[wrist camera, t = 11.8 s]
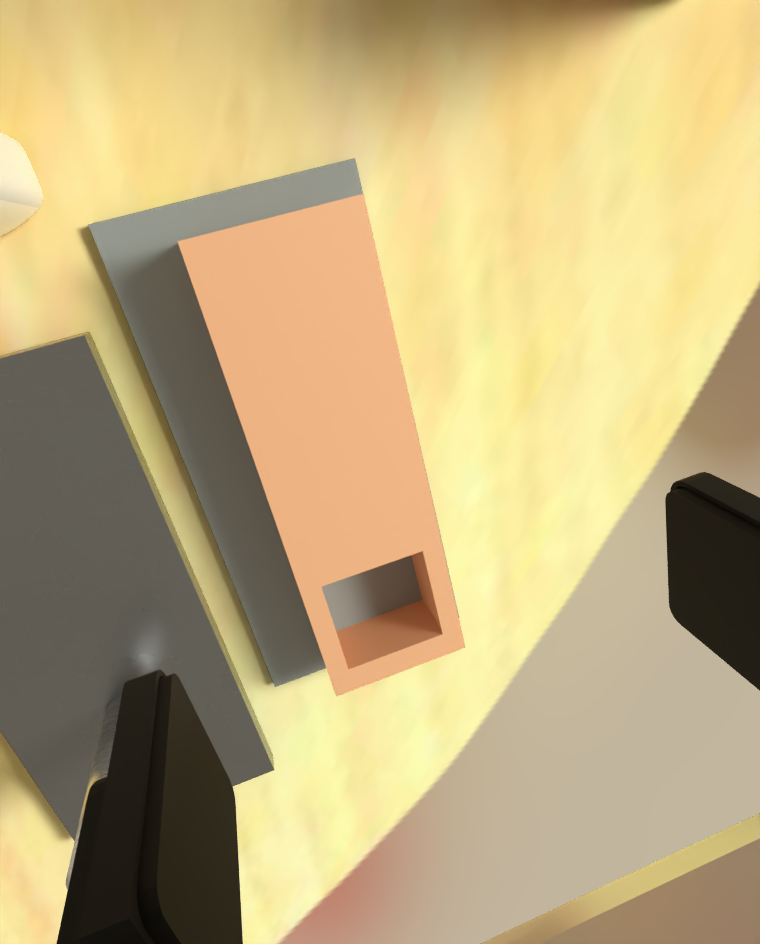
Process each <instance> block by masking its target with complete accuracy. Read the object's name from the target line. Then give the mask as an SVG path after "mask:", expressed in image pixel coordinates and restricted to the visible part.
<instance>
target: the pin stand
mask: <svg viewBox="0 0 760 944" xmlns="http://www.w3.org/2000/svg"><path fill="white" fill-rule="evenodd" d="M156 670H162V671H163V672H164V673H165V675H166V676H168V675H171V674H174V673H175V674H176V675H177V676H178V677H179V679H180V681H181V683H182V685H183V687H184V689H185V691H186V693H187V695H188V697H189V699H190V701H191V703H192V705H193V707H194V709H195V711H196V713H197V715H198V717H199V719H200V721H201V723H202V725H203V727H204V729H205V731H206V733H207V735H208V737H209V739H210V741H211V743H212V745H213V747H214V749H215V751H216V753H217V755H218V757H219V759H220V761H221V763H222V765H223V767H224V769H225V771H226V773H227V775H228V777H229V779H230V781H231V784H232V786H235V785H237V784H240V783H242V782H245V781H248V780H250V779H253V778H255V777H258V776H260V775H263V774H265V773H268V772H270V771H273V770H274V763H273V755H272V753H271V750H270V748H269V746H268V743H267V741H266V739H265V736H264V734H263V732H262V729H261V727H260V725H259V723H258V720H257V718H256V716H255V713H254V711H253V709H252V706H251V704H250V702H249V699H248V697H247V695H246V692H245V690H244V688H243V686H242V683H241V681H240V679H239V676H238V674H237V672H236V669H235V667H234V665H233V662H232V660H231V658H230V655H229V653H228V651H227V649H226V646H225V644H224V642H223V639H222V637H221V635H220V632H219V630H218V628H217V625H216V623H215V621H214V619H213V616H212V614H211V612H210V609H209V607H208V605H207V602H206V600H205V598H204V595H203V593H202V591H201V588H200V586H199V584H198V582H197V579H196V577H195V575H194V572H193V570H192V568H191V565H190V563H189V561H188V558H187V556H186V554H185V551H184V549H183V547H182V545H181V542H180V540H179V538H178V535H177V533H176V531H175V528H174V526H173V524H172V521H171V519H170V517H169V514H168V512H167V510H166V508H165V505H164V503H163V501H162V498H161V496H160V494H159V491H158V489H157V487H156V484H155V482H154V480H153V477H152V475H151V473H150V471H149V468H148V466H147V464H146V461H145V459H144V457H143V454H142V452H141V450H140V447H139V445H138V443H137V441H136V438H135V436H134V434H133V431H132V429H131V427H130V424H129V422H128V420H127V417H126V415H125V413H124V410H123V408H122V406H121V404H120V401H119V399H118V397H117V394H116V392H115V390H114V387H113V385H112V383H111V380H110V378H109V376H108V373H107V371H106V369H105V367H104V364H103V362H102V360H101V357H100V355H99V353H98V350H97V348H96V346H95V343H94V341H93V339H92V336H91V334H90V332H86V333H83V334H79V335H75V336H72V337H68V338H64V339H61V340H57V341H53V342H50V343H46V344H43V345H39V346H35V347H32V348H28V349H24V350H21V351H17V352H13V353H10V354H6V355H2V356H0V731H1V733H2V734H3V736H4V737H5V739H6V740H7V741H8V743H9V744H10V746H11V747H12V749H13V750H14V752H15V753H16V755H17V756H18V758H19V759H20V761H21V762H22V764H23V765H24V767H25V768H26V770H27V771H28V773H29V774H30V776H31V777H32V779H33V780H34V782H35V783H36V784H37V786H38V787H39V789H40V790H41V792H42V793H43V795H44V796H45V798H46V799H47V801H48V802H49V804H50V805H51V807H52V808H53V810H54V811H55V813H56V814H57V816H58V817H59V819H60V820H61V822H62V823H63V825H64V826H65V827H66V829H67V830H68V832H69V833H70V835H71V836H72V838H73V839H74V841H75V843H74V847H73V852H72V856H71V860H70V865H69V869H68V873H67V878H66V887H67V889H68V887H69V883H70V878H71V873H72V868H73V863H74V859H75V854H76V849H77V844H78V839H79V835H80V830H81V825H82V820H83V815H84V811H85V806H86V801H87V796H88V793H89V790H90V787H91V786H92V785H93V783H94V782H95V781H97V780H100V779H102V778H105V777H107V774H108V768H109V763H110V757H111V752H112V746H113V741H114V735H115V730H116V724H117V719H118V713H119V708H120V702H121V696H122V691H123V686H124V683H125V682H126V681H129V680H131V679H134V678H137V677H140V676H142V675H145V674H148V673H151V672H153V671H156Z"/></svg>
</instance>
